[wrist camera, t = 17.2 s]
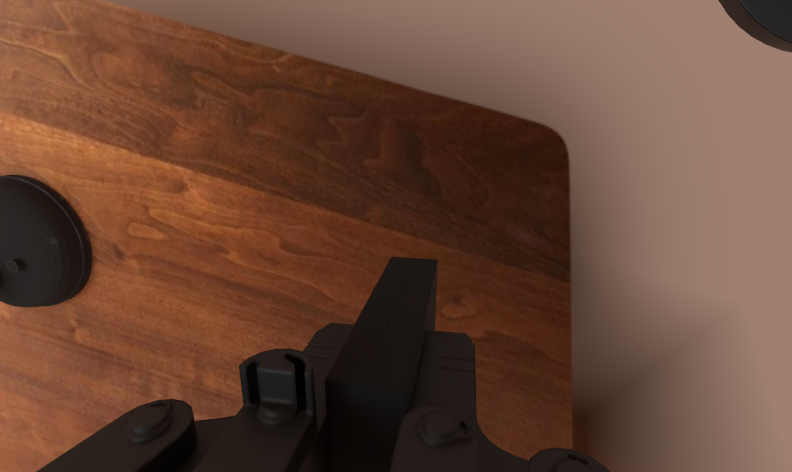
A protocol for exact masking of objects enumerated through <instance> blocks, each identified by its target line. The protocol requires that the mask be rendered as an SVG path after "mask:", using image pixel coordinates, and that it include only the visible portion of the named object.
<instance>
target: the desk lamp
mask: <svg viewBox="0 0 792 472" xmlns="http://www.w3.org/2000/svg"><path fill="white" fill-rule="evenodd" d="M91 262H92V260H91V248H90V243H89V239H88V236H87V233H86V231H85V229H84V227H83V224H82V222H81V220H80V219H79V217H78V216H77V214H76V213H75V211H74V210H73V209H72V207H71V206H70V205H69V204H68V203H67V202H66V201H65V200H64V199H63V198H62V197H61V196H60V195H59V194H58V193H57V192H55V191H54V190H53V189H51V188H50V187H48V186H47V185H45V184H43V183H41V182H39V181H37V180H35V179H32V178H29V177H25V176H20V175H6V176H0V301H1V302H4V303H6V304H9V305H13V306H19V307H39V306H52V305H56V304H59V303H61V302H64V301H66V300H68V299H70V298H72V297H74V296H75V295H76V294H78V293H79V292H80V291H81V289H82V288H83V287H84V285H85V284H86V282H87V280H88V277H89V274H90V270H91Z"/></svg>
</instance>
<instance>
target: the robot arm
mask: <svg viewBox="0 0 792 472" xmlns="http://www.w3.org/2000/svg"><path fill="white" fill-rule="evenodd" d="M436 286H437V260H434V259H418V258H402V257H391V259H390V261H389V263H388V264H387V266H386V268H385V270H384V272H383V274H382V275H381V277H380V279H379V281H378V283H377V285H376V286H375V288H374V290H373V292H372V294H371V296H370V297H369V299H368V301H367V303H366V305H365V307H364V308H363V310H362V312H361V314H360V316H359V318H358V319H357V321H356V323H355V325H348V324H337V323H330V324H328V325H327V326H325V327H324V328H322V329H320V330H319V331H317V332H316V333H315V335H314V336H313V338H312V339H311V340H310V342H309V343H308V346H306V348H305V349H304V350H303V352H302V351H298V350H294V349H274V350H269V351H264V352H261V353H259V354H256V355H254V356H252V357H249V358H248V359H247V360H245V361H244V362H243V363H242V364H240V365H239V369H240V378H241V386H242V394H243V403H244V406H243V407H242V408H241V409H240V411H239V412H238V413H237V415H236V416H231V417H225V418H217V419H208V420H199V421H194V416H193V411H192V407H191V406H190V405H188V404H187V403H186V402H184V401H180V400H174V399H167V400H157V401H153V402H150V403H147V404H144V405H141V406H138V407H137V408H135V409H133V410H131V411H129V412H127V413H125V414H123V415H122V416H120V417H119V418H117V419H116V420H114V421H113V422H111V423H110V424H108V425H107V426H105V427H104V428H102V429H101V430H99V431H98V432H96V433H95V434H93V435H91V436H90V437H88V438H87V439H85V440H84V441H82V442H81V443H79V444H78V445H76V446H75V447H73V448H72V449H70V450H69V451H67V452H66V453H64V454H62V455H61V456H59V457H58V458H56V459H55V460H53V461H52V462H50V463H49V464H47V465H46V466H44V467H43V468H41V469H40V470H38V471H37V472H610V471H609V470H608V469H607V468H606V467H605V466H603V465H602V464H600V463H599V462H597V461H596V460H594V459H593V458H591V457H590V456H588V455H585V454H582V453H580V452H577V451H574V450H572V449H563V448H550V449H546V450H542V451H539V452H538V453H537V454H535V455H534V456H533V457H532V458H530V460H529V461H527V460H524V459H522V458H519V457H517V456H514V455H512V454H510V453H508V452H506V451H504V450H502V449H500V448H498V447H497V446H496V445H494V444H493V443H492V442H490V441H489V440H488V439H487V437H486V436H485V435H484V434H483V433H482V431H481V429H480V427H479V426H478V422H477V417H476V380H475V345H474V344H473V343H472V341H471V340H470V339H469V337H468V336H467V335H466V334H462V333H451V332H440V331H435V312H436Z"/></svg>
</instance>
